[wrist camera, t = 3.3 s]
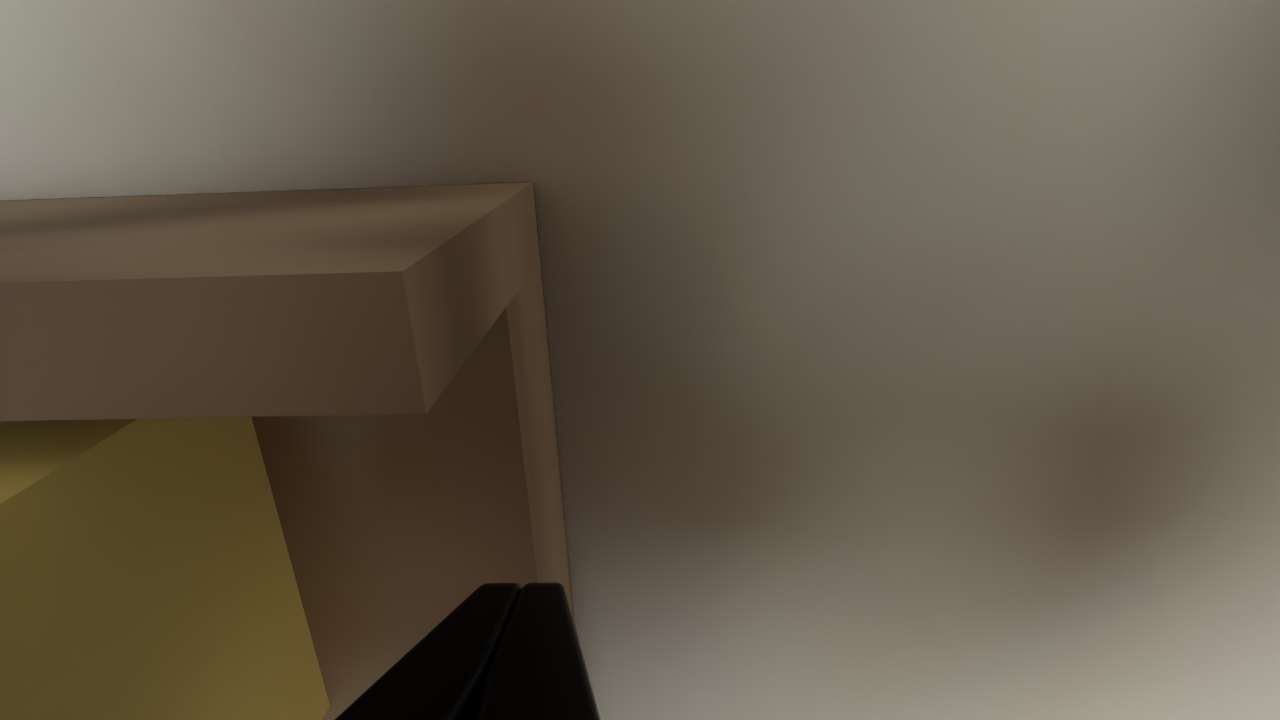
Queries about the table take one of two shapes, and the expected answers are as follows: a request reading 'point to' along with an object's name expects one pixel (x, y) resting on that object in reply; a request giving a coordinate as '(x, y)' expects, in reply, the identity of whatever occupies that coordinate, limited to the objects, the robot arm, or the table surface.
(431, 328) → the wooden tray
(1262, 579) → the table surface
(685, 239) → the table surface
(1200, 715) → the table surface
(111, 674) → the block
